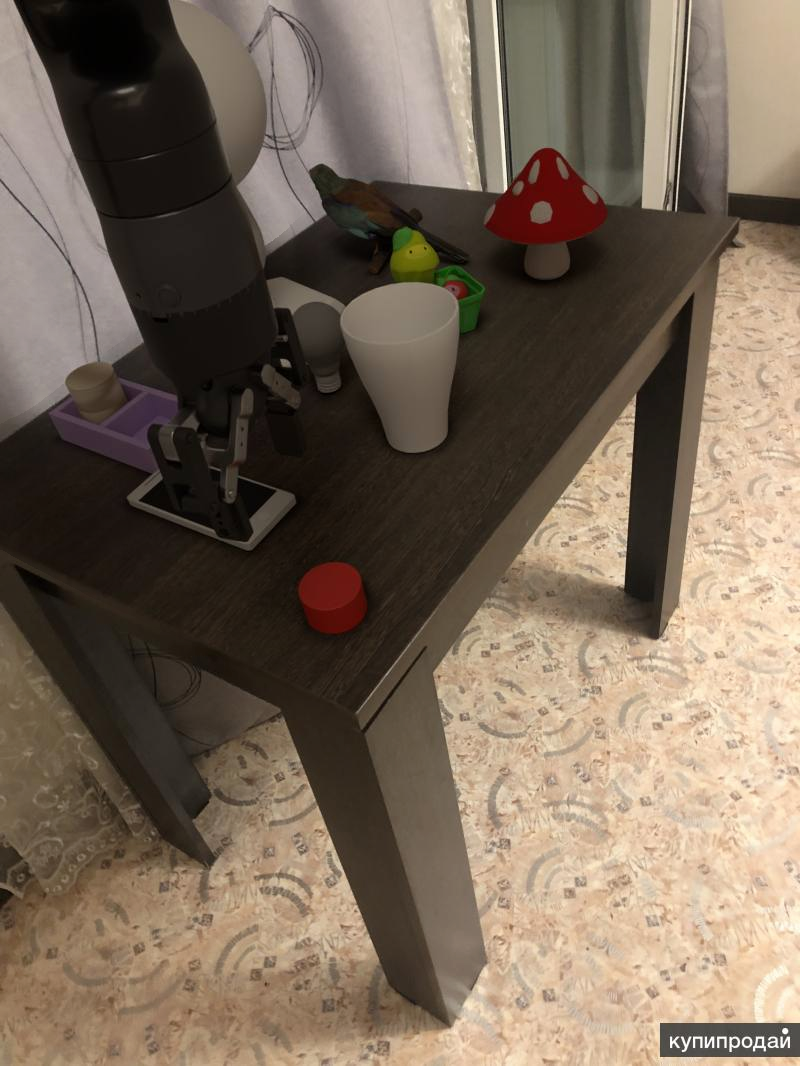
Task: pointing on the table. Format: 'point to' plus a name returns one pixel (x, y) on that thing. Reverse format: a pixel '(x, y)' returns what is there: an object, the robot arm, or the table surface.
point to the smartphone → (257, 498)
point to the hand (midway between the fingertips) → (266, 493)
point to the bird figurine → (371, 215)
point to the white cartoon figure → (238, 120)
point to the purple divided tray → (120, 425)
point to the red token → (333, 597)
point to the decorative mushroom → (546, 213)
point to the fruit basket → (435, 274)
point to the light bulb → (321, 342)
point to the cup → (406, 358)
